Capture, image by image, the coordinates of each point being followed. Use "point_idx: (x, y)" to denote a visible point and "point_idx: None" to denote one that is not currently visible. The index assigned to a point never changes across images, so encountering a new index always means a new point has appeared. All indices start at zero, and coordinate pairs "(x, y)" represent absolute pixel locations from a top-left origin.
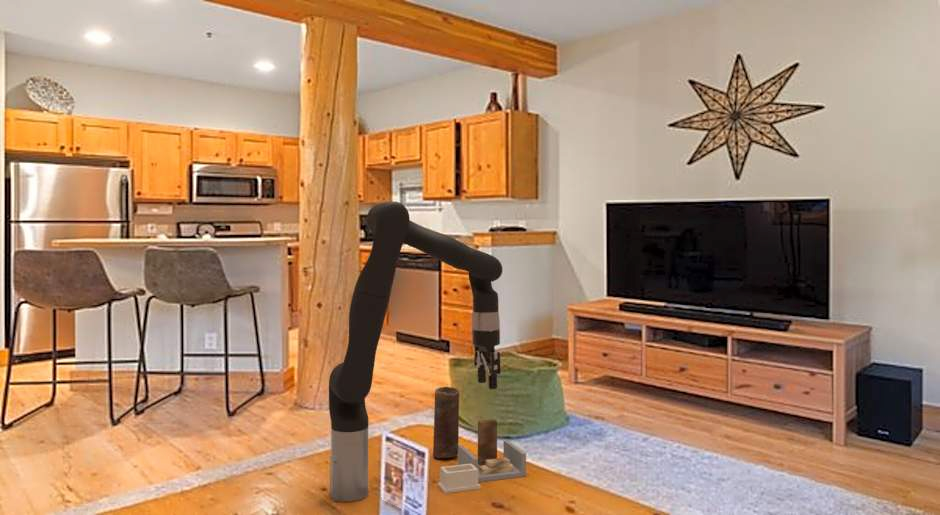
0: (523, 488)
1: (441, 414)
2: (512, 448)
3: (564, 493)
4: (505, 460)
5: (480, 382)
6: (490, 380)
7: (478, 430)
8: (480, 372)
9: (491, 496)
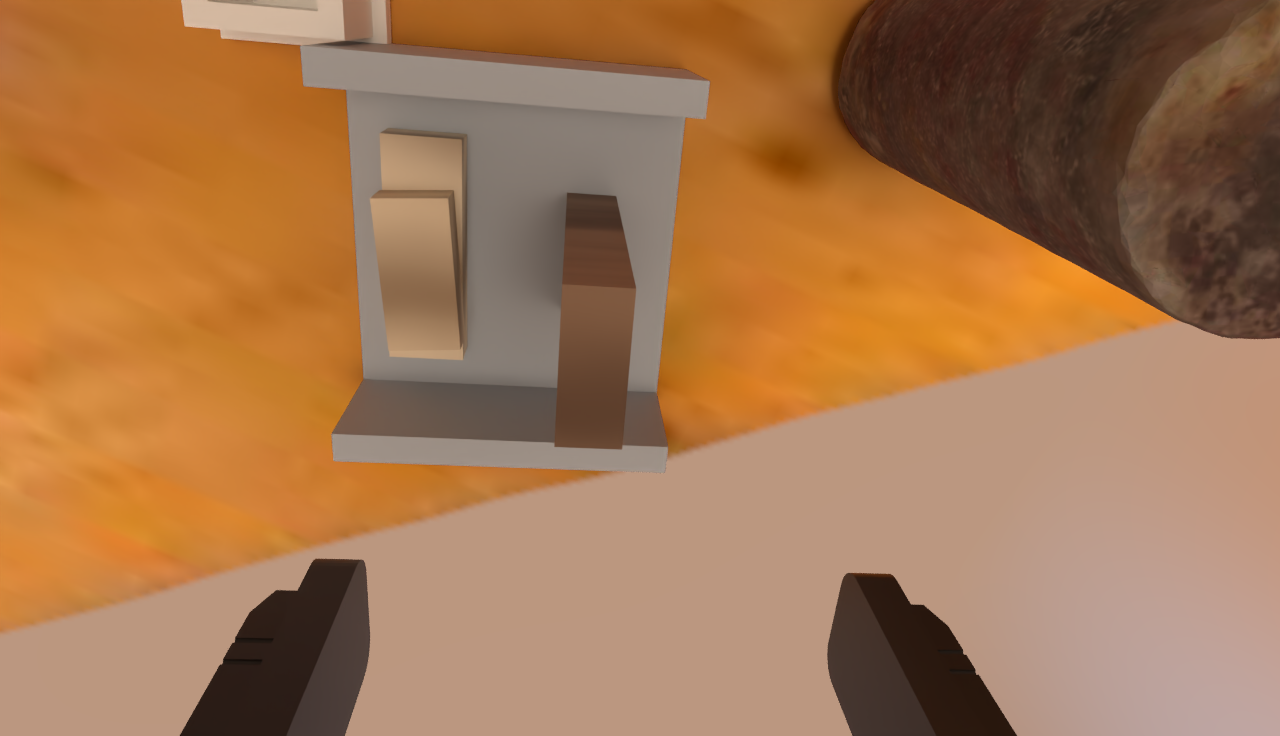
0: (179, 293)
1: (1051, 8)
2: (503, 434)
3: (58, 456)
4: (391, 321)
5: (843, 593)
6: (263, 677)
7: (611, 260)
8: (910, 733)
9: (76, 45)
